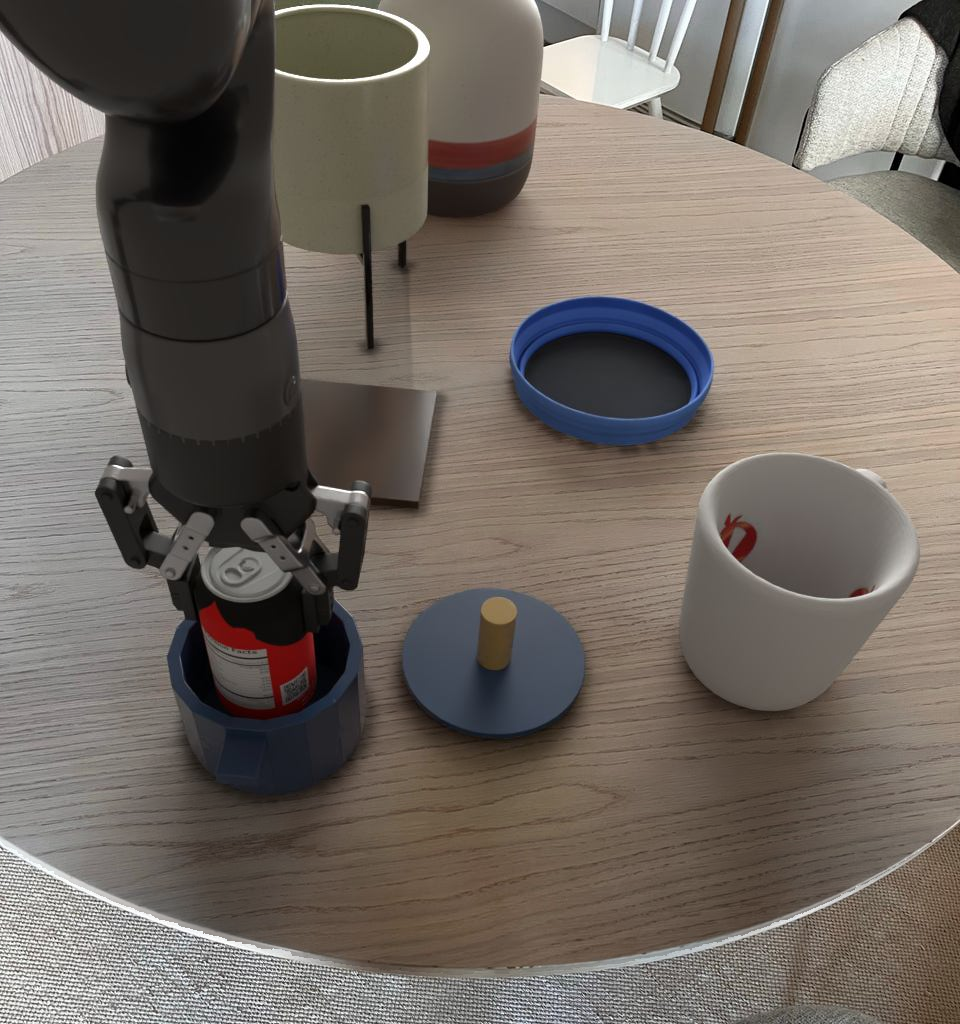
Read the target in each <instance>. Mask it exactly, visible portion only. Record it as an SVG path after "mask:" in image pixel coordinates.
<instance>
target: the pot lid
mask: <svg viewBox="0 0 960 1024" xmlns="http://www.w3.org/2000/svg"><path fill="white" fill-rule="evenodd" d="M586 666H587V665H586V654H585V650H584V646H583V644H582V642H581V639H580V636H579V634H577V632H576V630H575V628H574V627H573V626H572V625H571V623H570V621H568V619H567V618H566V617H564V615H563V614H561V613H560V612H559V611H558V610H556V608H554V607H553V606H551V605H550V604H548V603H546V602H545V601H543V600H541V599H539V598H537V597H536V596H532V595H530V594H527V593H524V592H521V591H517V590H513V589H506V588H499V587H479V588H471V589H466V590H465V589H464V590H462V591H458V592H454V593H451V594H450V595H446V596H444V597H443V598H441V599H438V600H437V601H435V602H434V603H432V604H430V605H429V606H428V607H426V608H425V609H424V610H423V611H422V612H421V613H419V615H418V616H417V617H416V618H415V620H414V621H413V622H412V624H411V625H410V627H409V628H408V629H407V633H406V635H405V637H404V640H403V644H402V648H401V671H402V672H401V673H402V676H403V679H404V683H405V686H406V688H407V690H408V692H409V694H410V695H411V697H412V698H413V700H414V701H415V702H416V704H417V705H418V706H419V708H420V709H422V711H423V712H425V713H426V714H427V715H428V716H429V717H431V718H432V719H434V721H436V722H438V723H439V724H440V725H442V726H445V727H446V728H448V729H450V730H453V731H455V732H458V733H461V734H463V735H467V736H470V737H476V738H481V739H489V740H490V739H491V740H503V739H505V740H506V739H514V738H519V737H525V736H528V735H531V734H534V733H537V732H539V731H541V730H544V729H546V728H547V727H549V726H551V725H553V724H555V723H556V722H557V721H558V720H559V719H562V717H563V716H565V714H566V713H567V712H569V710H570V709H571V708H572V707H573V705H574V703H575V702H576V700H577V699H578V698H579V695H580V693H581V691H582V688H583V683H584V680H585V675H586Z"/></svg>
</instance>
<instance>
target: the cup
mask: <svg viewBox="0 0 960 1024" xmlns="http://www.w3.org/2000/svg"><path fill="white" fill-rule="evenodd" d="M920 545H921V544H920V538H919V535H918V532H917V528H916V526H915V524H914V523H913V521H912V518H911V517H910V515H909V513H908V511H907V510H906V509H905V507H904V506H903V505H902V504H901V503H900V502H899V500H898V499H897V498H896V497H895V496H894V495H893V494H892V493H891V492H889V491H888V489H887V483H886V481H885V480H884V478H883V477H882V476H880V475H878V474H876V472H873V471H871V470H869V469H867V468H862V467H861V468H853V467H851V466H848V465H847V464H844V463H842V462H839V461H836V460H832V459H829V458H827V457H826V458H825V457H822V456H819V455H813V454H807V453H800V452H787V451H786V452H784V451H782V452H780V451H779V452H767V453H761V454H756V455H752V456H748V457H745V458H743V459H740V460H737V461H735V462H732V463H731V464H729V465H728V466H726V467H725V468H723V469H722V470H721V471H719V472H718V473H717V474H716V475H715V476H714V477H713V478H712V479H711V480H710V482H709V483H708V484H707V485H706V487H705V489H704V490H703V492H702V495H701V496H700V500H699V503H698V507H697V512H696V517H695V523H694V529H693V535H692V541H691V547H690V554H689V559H688V563H687V571H686V576H685V583H684V588H683V594H682V600H681V604H680V605H681V606H680V611H679V612H680V613H679V620H678V621H679V623H678V634H679V635H678V636H679V643H680V648H681V651H682V655H683V657H684V660H685V661H686V663H687V665H688V667H689V669H690V670H691V672H692V674H693V675H694V676H695V677H696V679H698V681H699V682H700V683H701V684H703V685H704V686H705V687H706V688H707V689H708V690H709V691H710V692H712V693H713V694H714V695H716V696H718V697H719V698H721V699H722V700H725V701H727V702H728V703H731V704H733V705H736V706H739V707H741V708H742V707H743V708H746V709H749V710H755V711H766V712H778V711H787V710H791V709H794V708H798V707H801V706H804V705H805V704H808V703H810V702H812V701H814V699H816V698H818V697H819V696H820V695H822V694H823V693H825V691H827V690H828V689H829V688H830V687H831V686H832V685H833V684H834V683H835V682H836V681H837V679H838V678H839V677H840V676H841V675H842V674H843V672H844V670H845V669H846V668H847V667H848V666H849V664H850V663H851V662H852V660H853V659H854V658H855V657H856V655H857V654H858V653H859V652H860V650H861V649H862V648H863V647H864V645H865V644H866V642H867V641H868V640H869V639H870V638H871V636H872V635H873V633H875V631H876V630H877V628H879V626H880V625H881V623H882V622H883V621H884V619H885V618H886V617H887V616H888V614H890V612H891V610H892V609H893V608H894V607H895V606H896V604H897V603H898V601H900V599H901V598H902V597H903V595H904V594H905V593H906V591H907V590H908V589H909V588H910V586H911V584H912V582H913V581H914V578H915V577H916V575H917V571H918V569H919V565H920V560H921V546H920Z"/></svg>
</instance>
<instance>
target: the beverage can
mask: <svg viewBox="0 0 960 1024" xmlns="http://www.w3.org/2000/svg"><path fill="white" fill-rule="evenodd" d="M200 564H201V571H200V573H199V574H198V577H197V579H196V583H195V590H194V595H195V601H196V605H197V609H198V614H199V618H200V622H201V627H202V631H203V635H204V640H205V644H206V648H207V653H208V657H209V661H210V666H211V670H212V675H213V679H214V683H215V688H216V692H217V695H218V698H219V700H220V702H221V704H222V705H223V706H224V707H225V709H226V710H227V711H228V712H230V713H231V714H232V715H233V716H235V717H237V718H247V719H258V720H268V719H272V718H277V717H281V716H285V715H290V714H294V713H299V712H300V711H301V710H302V709H303V708H304V707H306V705H307V704H308V703H309V702H310V700H311V698H312V697H313V694H314V692H315V689H316V685H317V672H316V662H315V651H314V641H313V633H310V632H306V630H305V621H304V612H303V602H302V590H303V587H302V586H301V585H300V583H299V582H298V581H297V580H296V579H295V577H294V576H293V575H292V574H291V573H290V572H287V573H284V572H282V571H281V570H280V568H279V567H278V566H277V565H276V564H275V563H274V561H273V560H272V559H271V558H270V557H269V555H268V554H267V553H264V552H255V551H250V550H247V549H243V548H240V547H232V548H217V547H209V549H207V550H206V552H205V554H204V555H203V557H202V560H201V561H200Z"/></svg>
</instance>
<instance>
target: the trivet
mask: <svg viewBox="0 0 960 1024" xmlns="http://www.w3.org/2000/svg"><path fill="white" fill-rule="evenodd" d="M301 389H302V401H303V412H304V424H305V435H306V447H307V460H308V466H309V469H310V471H311V472H312V474H313V475H314V476H315V477H316V479H317V481H318V483H319V486H324V487H329V488H335V489H341V490H346V491H348V490H349V486H350V484H351V483H352V482H354V481H358V480H359V481H364V482H367V483H368V484H369V485H370V486H371V488H372V497H371V505H375V506H386V507H394V508H395V507H396V508H404V509H405V508H406V509H416V510H417V509H418V510H419V508H420V503H421V497H422V491H423V485H424V479H425V474H426V473H425V472H426V466H427V461H428V454H429V448H430V444H431V437H432V432H433V425H434V419H435V413H436V408H437V400H438V391H437V390H427V389H417V388H416V389H415V388H405V387H396V386H395V387H394V386H385V385H373V384H363V383H351V382H344V381H343V382H342V381H331V380H321V379H311V378H301Z"/></svg>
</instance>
